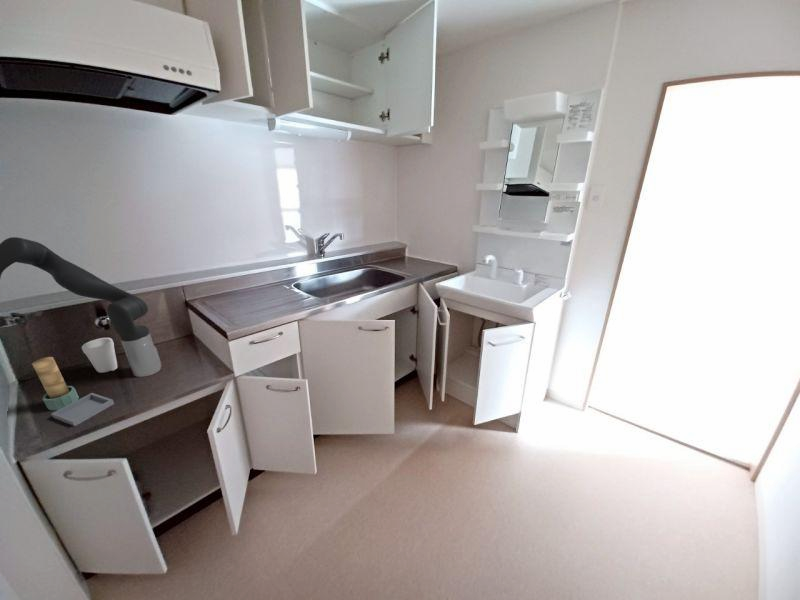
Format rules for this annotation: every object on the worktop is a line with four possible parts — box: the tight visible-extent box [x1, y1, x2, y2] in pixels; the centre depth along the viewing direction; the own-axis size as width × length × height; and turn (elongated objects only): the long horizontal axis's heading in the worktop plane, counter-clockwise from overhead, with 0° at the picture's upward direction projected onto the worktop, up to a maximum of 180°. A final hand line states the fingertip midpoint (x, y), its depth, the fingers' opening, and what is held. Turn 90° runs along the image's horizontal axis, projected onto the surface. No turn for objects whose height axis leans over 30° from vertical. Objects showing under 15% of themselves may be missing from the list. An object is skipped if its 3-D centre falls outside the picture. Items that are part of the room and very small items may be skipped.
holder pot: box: [41, 385, 80, 411], centre depth 112 cm, size 8×8×5 cm
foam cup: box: [81, 337, 118, 374], centre depth 131 cm, size 10×9×13 cm
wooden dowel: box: [31, 356, 69, 399], centre depth 109 cm, size 5×5×18 cm
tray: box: [50, 392, 115, 427], centre depth 109 cm, size 12×12×2 cm
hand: (6, 328), depth 104 cm, fingers open, 8 cm apart
